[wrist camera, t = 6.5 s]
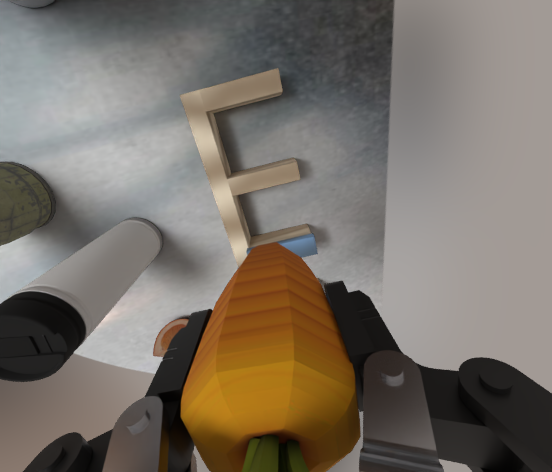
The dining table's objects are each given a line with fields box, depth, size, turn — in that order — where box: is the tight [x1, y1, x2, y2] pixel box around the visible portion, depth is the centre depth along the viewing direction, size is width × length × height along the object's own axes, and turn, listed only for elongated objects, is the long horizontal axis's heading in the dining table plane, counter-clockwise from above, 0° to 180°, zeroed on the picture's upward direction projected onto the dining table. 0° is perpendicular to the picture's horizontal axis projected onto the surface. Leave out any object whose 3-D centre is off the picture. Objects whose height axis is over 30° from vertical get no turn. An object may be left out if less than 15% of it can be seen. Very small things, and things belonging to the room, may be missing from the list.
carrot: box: [181, 242, 360, 472], centre depth 10 cm, size 5×5×15 cm
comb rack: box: [180, 68, 325, 293], centre depth 32 cm, size 29×10×5 cm, turn 13°
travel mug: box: [0, 218, 163, 382], centre depth 27 cm, size 6×7×20 cm
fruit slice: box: [153, 319, 189, 357], centre depth 40 cm, size 8×7×5 cm
